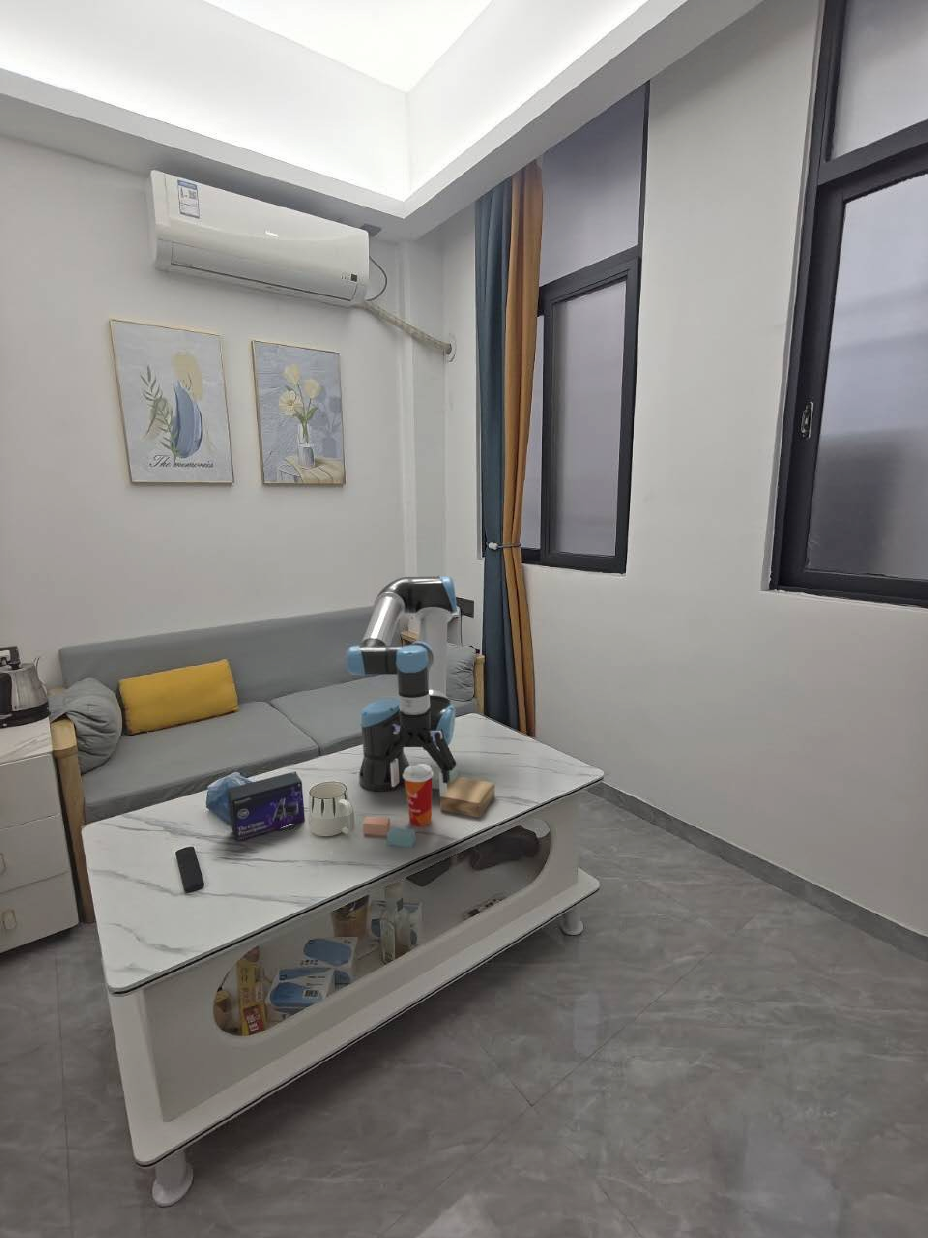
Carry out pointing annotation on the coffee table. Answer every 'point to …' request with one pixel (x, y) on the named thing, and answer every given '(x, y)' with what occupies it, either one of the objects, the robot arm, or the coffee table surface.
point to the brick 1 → (376, 826)
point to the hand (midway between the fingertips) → (419, 789)
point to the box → (266, 805)
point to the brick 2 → (401, 837)
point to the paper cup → (419, 793)
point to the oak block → (467, 796)
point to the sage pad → (436, 776)
